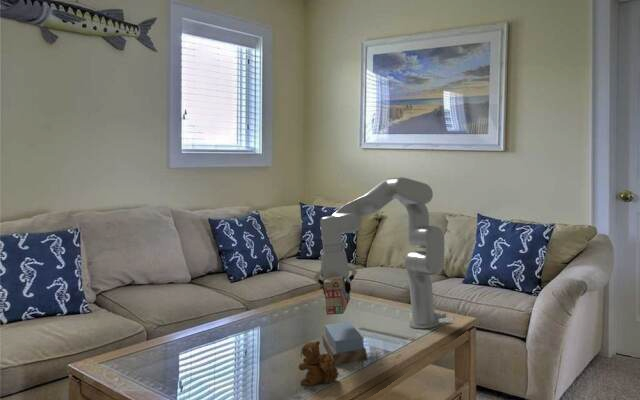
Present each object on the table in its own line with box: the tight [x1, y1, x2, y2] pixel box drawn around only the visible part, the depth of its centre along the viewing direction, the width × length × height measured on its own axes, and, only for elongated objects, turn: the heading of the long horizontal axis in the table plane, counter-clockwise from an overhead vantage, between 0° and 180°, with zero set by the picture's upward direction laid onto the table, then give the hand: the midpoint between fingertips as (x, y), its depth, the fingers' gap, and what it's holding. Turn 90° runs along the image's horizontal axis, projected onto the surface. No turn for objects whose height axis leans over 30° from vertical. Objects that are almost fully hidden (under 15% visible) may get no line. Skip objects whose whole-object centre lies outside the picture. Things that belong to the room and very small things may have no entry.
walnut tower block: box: [321, 334, 368, 366], centre depth 218 cm, size 12×25×4 cm, turn 9°
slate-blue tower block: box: [324, 321, 365, 353], centre depth 218 cm, size 10×23×4 cm, turn 9°
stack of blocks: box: [323, 276, 351, 315], centre depth 217 cm, size 21×6×12 cm, turn 170°
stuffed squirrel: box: [298, 340, 340, 386], centre depth 191 cm, size 10×14×13 cm
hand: (337, 294), depth 217 cm, fingers closed on stack of blocks, 7 cm apart
